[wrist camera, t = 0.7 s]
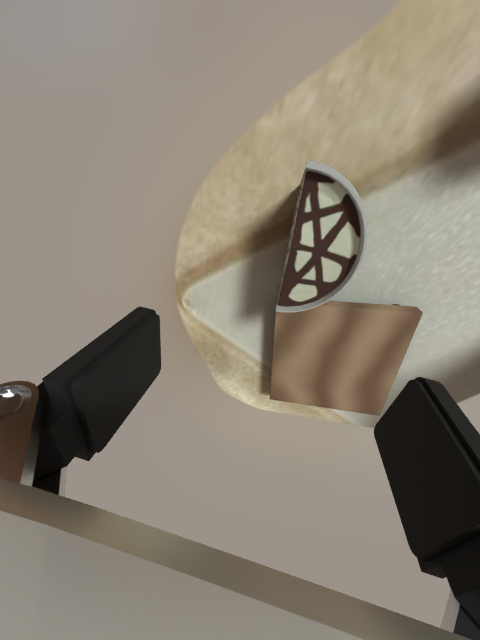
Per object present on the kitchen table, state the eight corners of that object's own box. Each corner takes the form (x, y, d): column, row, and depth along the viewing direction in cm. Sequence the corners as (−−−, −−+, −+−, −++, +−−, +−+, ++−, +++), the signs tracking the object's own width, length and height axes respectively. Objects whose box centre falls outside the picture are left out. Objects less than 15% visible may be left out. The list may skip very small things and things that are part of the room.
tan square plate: (411, 301, 28) (422, 312, 25) (373, 399, 36) (379, 415, 34) (278, 292, 31) (276, 302, 28) (271, 385, 39) (269, 399, 37)
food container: (328, 288, 29) (342, 329, 21) (280, 280, 30) (274, 316, 22) (365, 174, 23) (406, 166, 15) (303, 167, 24) (308, 156, 15)
